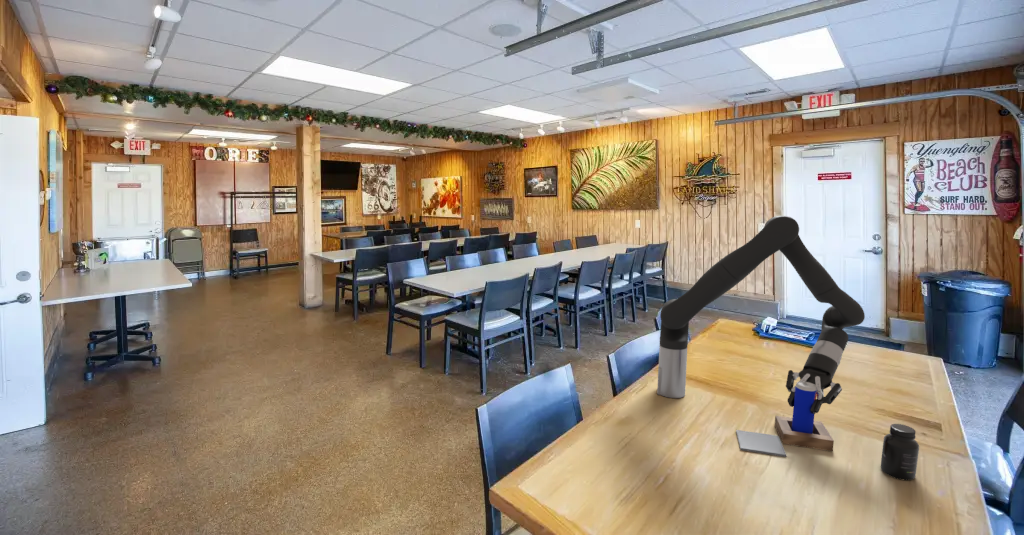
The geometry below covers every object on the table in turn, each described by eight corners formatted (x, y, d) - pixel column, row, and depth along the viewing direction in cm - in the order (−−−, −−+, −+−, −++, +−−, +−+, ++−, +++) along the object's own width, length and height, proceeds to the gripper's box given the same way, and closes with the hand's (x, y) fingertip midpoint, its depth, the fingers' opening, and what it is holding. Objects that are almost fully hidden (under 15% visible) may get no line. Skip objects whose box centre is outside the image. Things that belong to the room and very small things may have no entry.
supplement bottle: (873, 466, 121) (878, 421, 120) (898, 465, 122) (903, 420, 120) (897, 482, 114) (902, 435, 113) (923, 480, 115) (929, 433, 113)
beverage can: (815, 439, 133) (820, 388, 131) (795, 437, 134) (799, 387, 132) (807, 430, 138) (812, 381, 136) (788, 429, 139) (792, 380, 137)
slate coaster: (740, 449, 129) (740, 447, 129) (736, 431, 139) (736, 429, 139) (786, 457, 126) (786, 454, 126) (778, 437, 136) (778, 435, 136)
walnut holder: (782, 443, 132) (783, 433, 132) (774, 424, 144) (775, 415, 143) (832, 451, 129) (833, 440, 128) (820, 431, 140) (821, 421, 139)
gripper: (794, 346, 143) (771, 393, 138) (849, 359, 132) (826, 411, 126) (800, 360, 147) (778, 406, 142) (854, 373, 135) (832, 425, 130)
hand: (801, 408), depth 134 cm, fingers closed on beverage can, 5 cm apart
